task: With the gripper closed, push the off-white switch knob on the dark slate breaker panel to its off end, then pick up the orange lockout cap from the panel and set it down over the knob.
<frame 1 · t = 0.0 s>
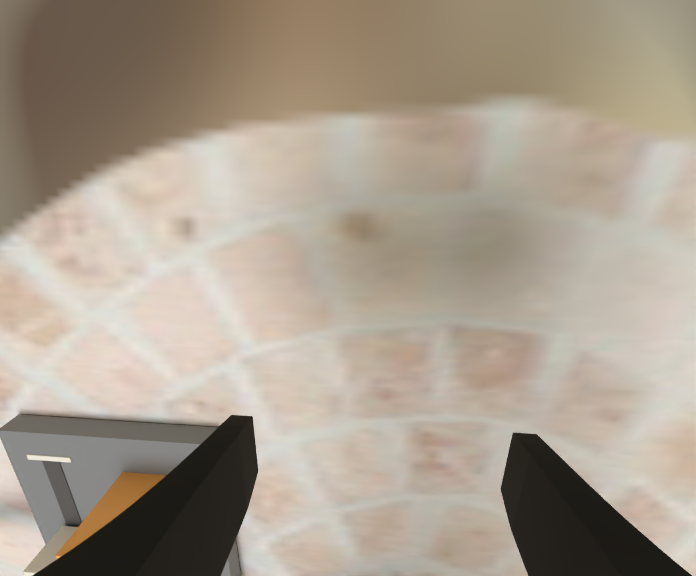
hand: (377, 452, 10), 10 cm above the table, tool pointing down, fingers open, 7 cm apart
breaker panel: (143, 516, 27), on the table
lockout cap: (160, 499, 24), point 1 cm above the table, touching breaker panel
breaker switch: (58, 556, 24), point 3 cm above the table, slide at 0.0 cm
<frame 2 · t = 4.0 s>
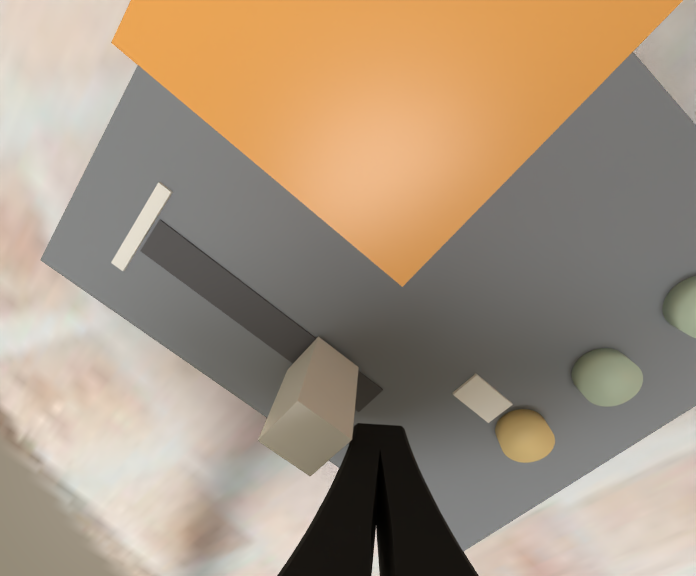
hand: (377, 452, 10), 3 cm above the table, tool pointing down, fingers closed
breaker panel: (413, 266, 12), on the table
lockout cap: (383, 88, 9), point 1 cm above the table, touching breaker panel
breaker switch: (314, 399, 10), point 3 cm above the table, slide at 0.3 cm, touching gripper
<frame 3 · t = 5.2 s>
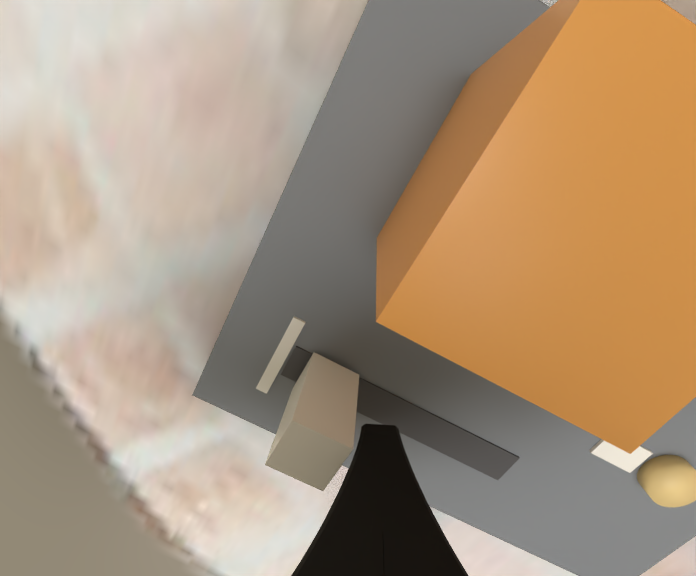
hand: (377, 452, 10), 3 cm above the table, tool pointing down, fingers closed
breaker panel: (524, 335, 12), on the table
lockout cap: (493, 205, 9), point 1 cm above the table, touching breaker panel
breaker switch: (317, 414, 10), point 3 cm above the table, slide at 5.3 cm, touching gripper
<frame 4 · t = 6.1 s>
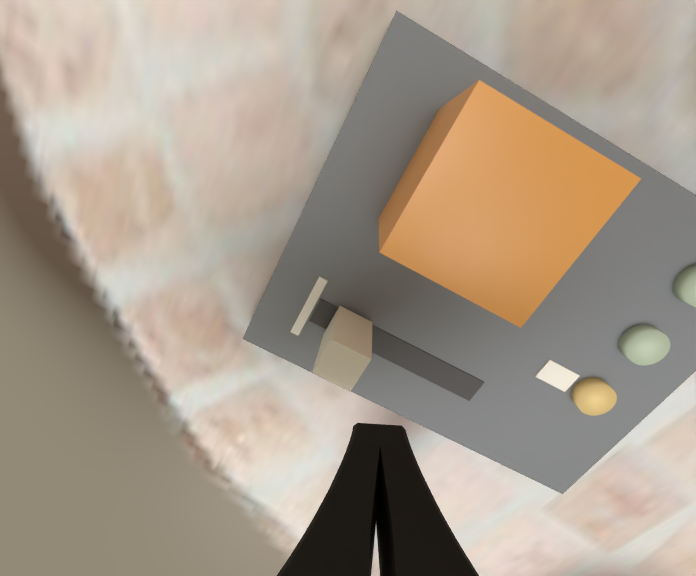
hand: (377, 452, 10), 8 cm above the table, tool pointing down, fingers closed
breaker panel: (487, 292, 16), on the table
lockout cap: (457, 195, 14), point 1 cm above the table, touching breaker panel
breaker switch: (344, 345, 14), point 3 cm above the table, slide at 5.1 cm
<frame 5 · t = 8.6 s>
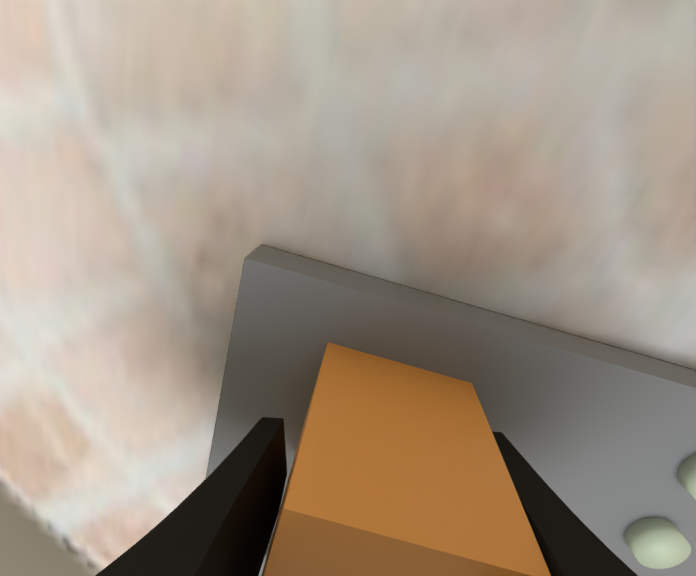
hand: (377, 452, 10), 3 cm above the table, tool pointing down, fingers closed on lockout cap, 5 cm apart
breaker panel: (454, 479, 14), on the table
lockout cap: (377, 420, 11), point 2 cm above the table, touching breaker panel, gripper
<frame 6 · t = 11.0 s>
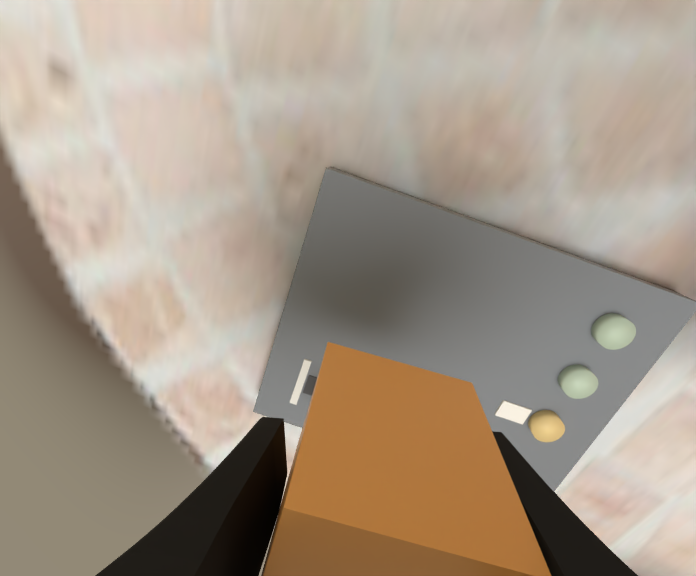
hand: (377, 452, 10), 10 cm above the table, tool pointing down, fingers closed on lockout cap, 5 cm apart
breaker panel: (446, 349, 20), on the table
lockout cap: (377, 419, 11), point 9 cm above the table, touching gripper
when the fingers open (4 cm above the table, at t = 13.9 s): lockout cap stays where it is, resting on breaker panel.
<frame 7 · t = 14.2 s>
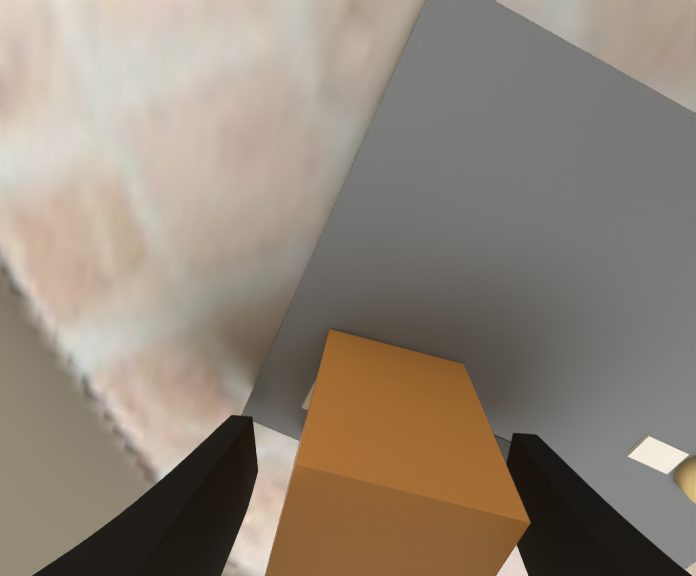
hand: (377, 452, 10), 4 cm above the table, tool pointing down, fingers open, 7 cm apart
breaker panel: (556, 345, 13), on the table
lockout cap: (377, 401, 12), point 2 cm above the table, touching breaker panel
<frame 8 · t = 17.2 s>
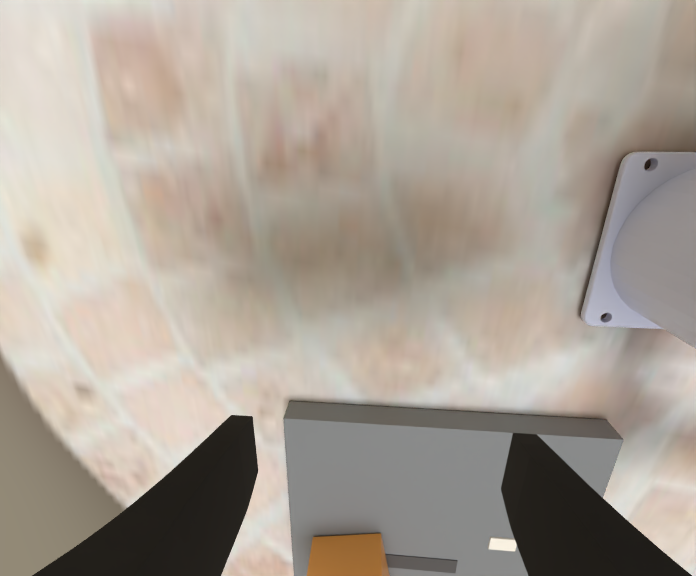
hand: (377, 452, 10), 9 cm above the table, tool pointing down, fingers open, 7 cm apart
breaker panel: (432, 498, 23), on the table
lockout cap: (352, 558, 23), point 2 cm above the table, touching breaker panel
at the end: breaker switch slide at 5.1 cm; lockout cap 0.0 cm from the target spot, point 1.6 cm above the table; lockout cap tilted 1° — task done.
